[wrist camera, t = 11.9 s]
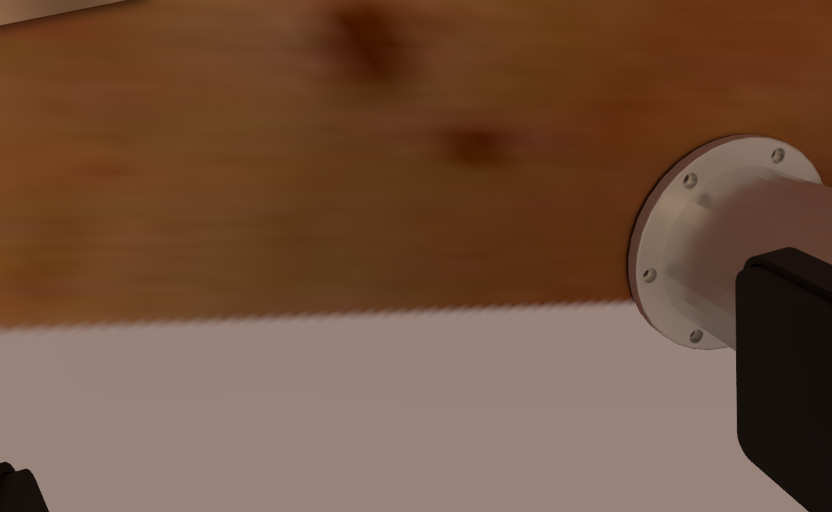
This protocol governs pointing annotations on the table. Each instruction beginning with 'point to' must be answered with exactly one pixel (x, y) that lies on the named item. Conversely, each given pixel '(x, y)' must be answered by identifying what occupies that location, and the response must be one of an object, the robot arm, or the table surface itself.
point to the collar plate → (42, 8)
